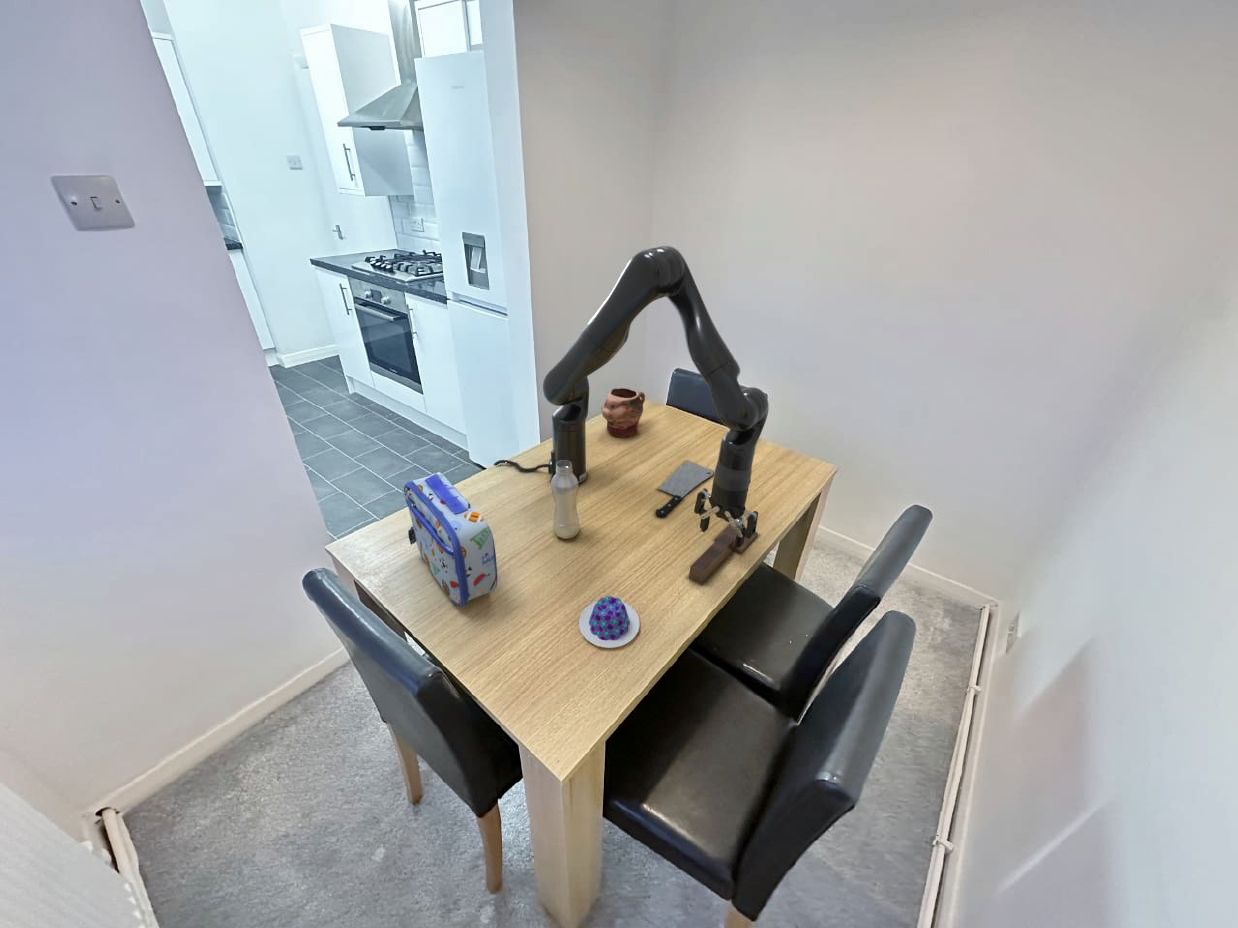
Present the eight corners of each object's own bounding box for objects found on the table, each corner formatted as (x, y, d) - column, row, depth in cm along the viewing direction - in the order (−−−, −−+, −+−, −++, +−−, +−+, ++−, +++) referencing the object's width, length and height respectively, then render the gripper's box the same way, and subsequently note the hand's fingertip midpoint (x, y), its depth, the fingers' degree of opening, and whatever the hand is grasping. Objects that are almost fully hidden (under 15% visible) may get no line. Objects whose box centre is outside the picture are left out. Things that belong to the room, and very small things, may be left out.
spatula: (708, 588, 106) (710, 576, 104) (681, 573, 110) (682, 561, 108) (757, 535, 122) (759, 523, 120) (732, 523, 126) (734, 512, 124)
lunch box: (407, 549, 114) (386, 470, 103) (449, 531, 120) (434, 454, 109) (461, 621, 97) (444, 535, 85) (507, 596, 103) (497, 512, 91)
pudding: (612, 592, 104) (613, 574, 102) (652, 627, 97) (653, 609, 94) (566, 621, 98) (566, 603, 95) (605, 661, 90) (605, 642, 87)
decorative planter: (627, 414, 179) (628, 379, 172) (654, 424, 173) (657, 387, 166) (592, 434, 166) (592, 396, 158) (621, 445, 159) (622, 406, 152)
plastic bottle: (559, 545, 117) (556, 474, 107) (549, 529, 122) (545, 460, 112) (584, 537, 120) (583, 468, 109) (573, 522, 125) (571, 454, 114)
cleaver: (632, 505, 131) (664, 519, 126) (633, 503, 131) (664, 517, 126) (686, 461, 152) (715, 472, 147) (686, 460, 152) (716, 471, 147)
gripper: (693, 474, 105) (685, 532, 114) (754, 500, 98) (741, 561, 106) (711, 461, 110) (702, 518, 119) (770, 485, 103) (756, 544, 111)
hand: (720, 538), depth 112 cm, fingers open, 8 cm apart
